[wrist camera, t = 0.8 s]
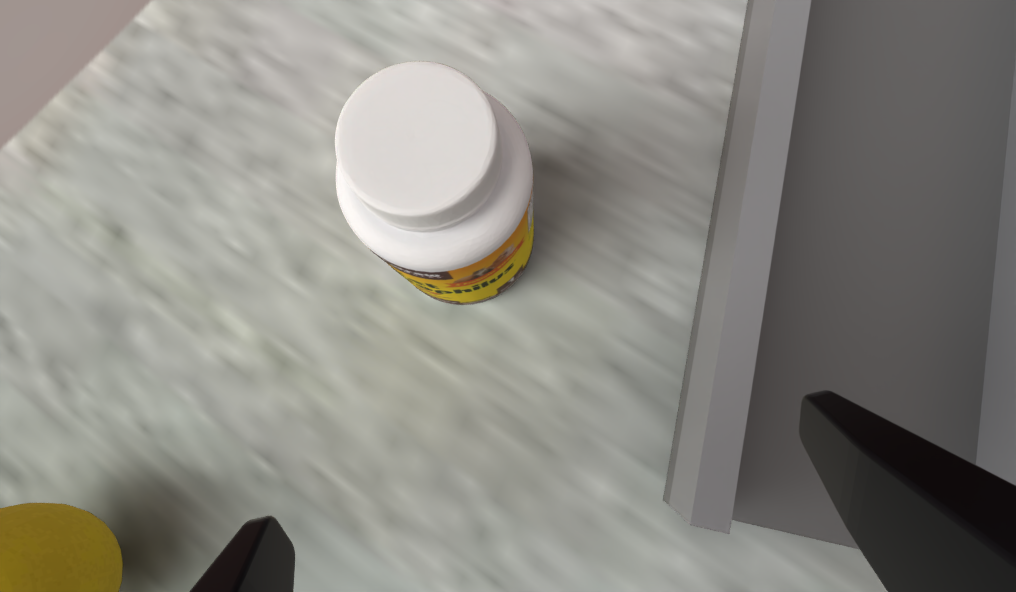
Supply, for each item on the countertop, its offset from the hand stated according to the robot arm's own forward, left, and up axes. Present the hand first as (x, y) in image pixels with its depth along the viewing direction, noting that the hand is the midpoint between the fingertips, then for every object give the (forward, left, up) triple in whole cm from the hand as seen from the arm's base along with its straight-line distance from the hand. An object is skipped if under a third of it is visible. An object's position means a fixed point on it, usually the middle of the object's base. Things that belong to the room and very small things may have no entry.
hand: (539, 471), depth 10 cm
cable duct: (+15, -3, -13) cm, 20 cm away
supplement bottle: (+3, +7, -13) cm, 15 cm away
